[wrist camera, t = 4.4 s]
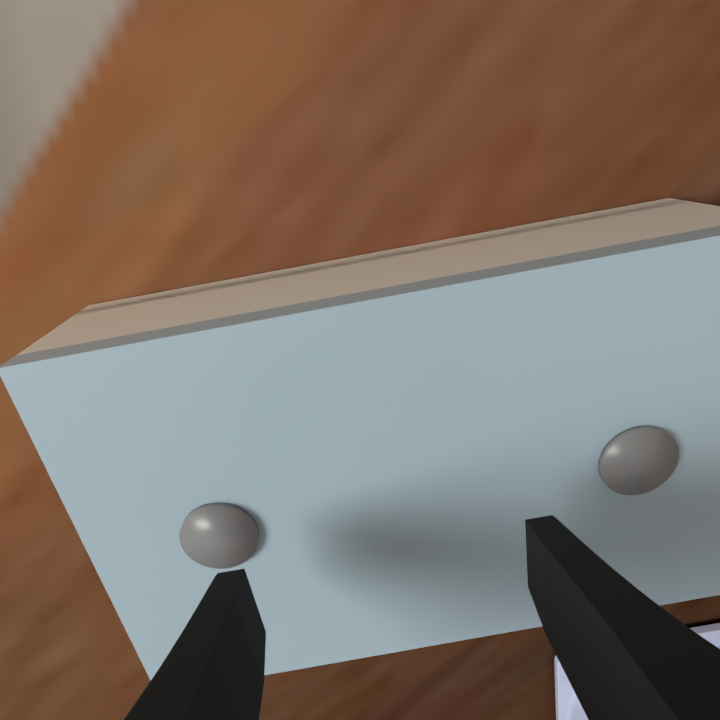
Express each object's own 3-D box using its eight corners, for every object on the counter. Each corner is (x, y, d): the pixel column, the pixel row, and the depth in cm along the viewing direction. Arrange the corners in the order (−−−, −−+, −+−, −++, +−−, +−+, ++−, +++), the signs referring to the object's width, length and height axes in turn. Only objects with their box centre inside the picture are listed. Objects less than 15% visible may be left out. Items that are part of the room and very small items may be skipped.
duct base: (669, 197, 16) (775, 215, 12) (649, 489, 20) (722, 567, 16) (88, 305, 16) (16, 355, 12) (195, 570, 20) (166, 666, 16)
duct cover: (165, 669, 16) (155, 700, 15) (16, 355, 12) (-9, 371, 11) (724, 570, 16) (749, 595, 15) (775, 215, 12) (813, 221, 11)
